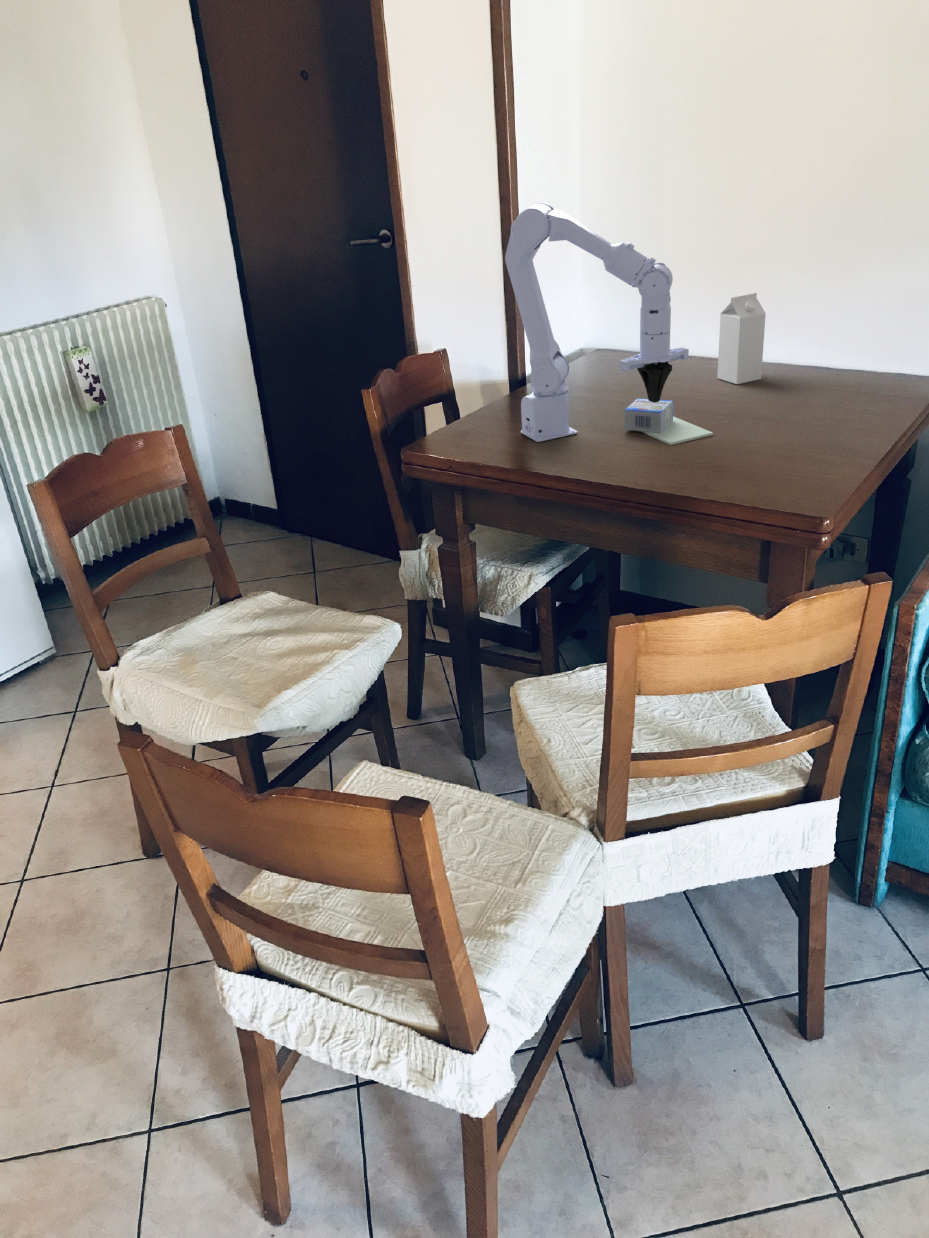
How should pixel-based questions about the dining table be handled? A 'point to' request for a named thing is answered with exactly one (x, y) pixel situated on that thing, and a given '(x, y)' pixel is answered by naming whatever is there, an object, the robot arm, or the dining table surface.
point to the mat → (679, 432)
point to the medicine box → (648, 415)
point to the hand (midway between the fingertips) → (653, 401)
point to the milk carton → (741, 340)
